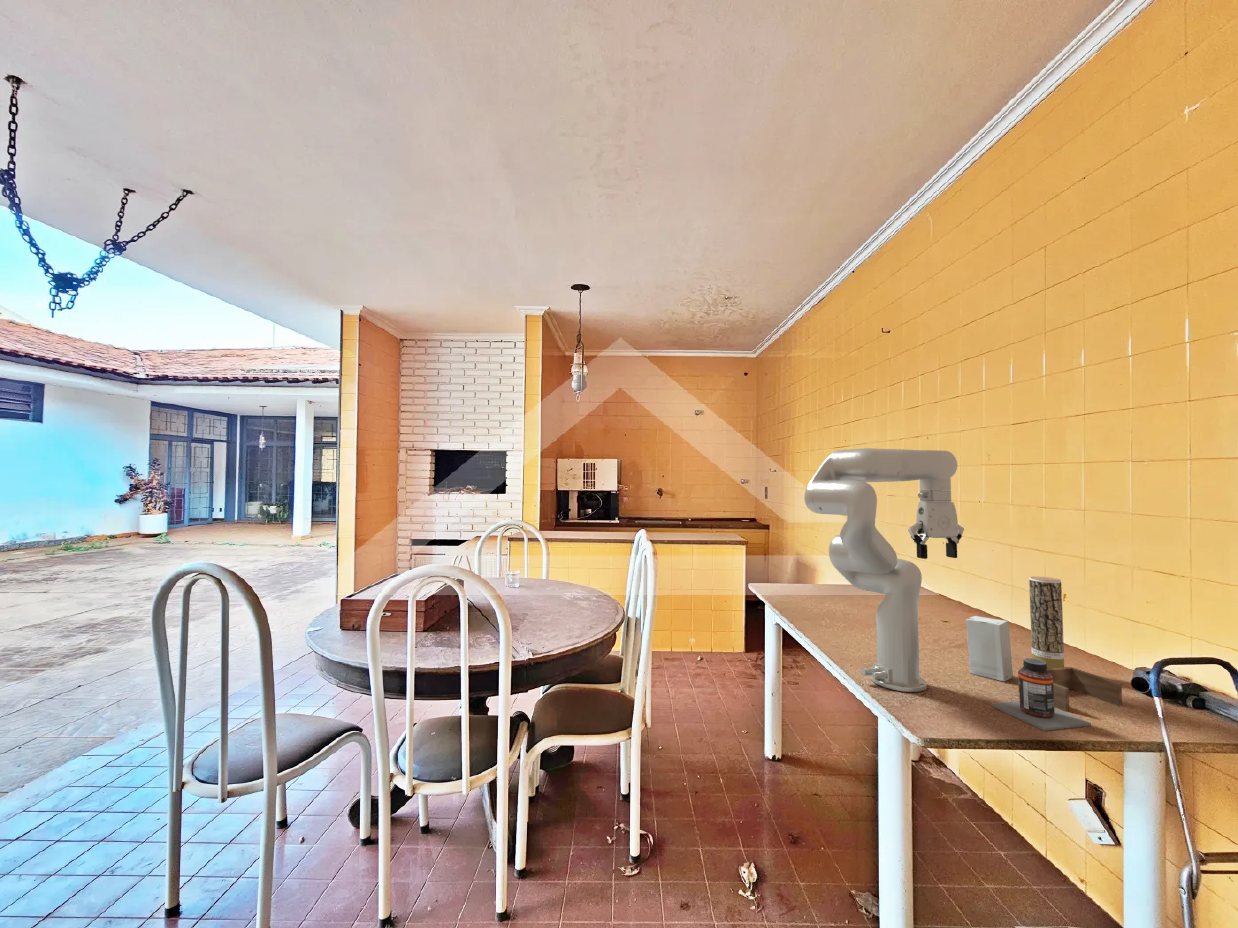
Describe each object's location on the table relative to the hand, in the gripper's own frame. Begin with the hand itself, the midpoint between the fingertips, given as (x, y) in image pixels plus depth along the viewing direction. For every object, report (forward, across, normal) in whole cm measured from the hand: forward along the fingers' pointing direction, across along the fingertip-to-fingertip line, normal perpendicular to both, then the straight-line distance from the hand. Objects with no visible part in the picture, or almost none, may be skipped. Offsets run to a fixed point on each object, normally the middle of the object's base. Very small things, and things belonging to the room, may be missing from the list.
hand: (937, 557), depth 143 cm
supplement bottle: (+30, -3, -30) cm, 42 cm away
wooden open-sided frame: (+30, +13, -24) cm, 41 cm away
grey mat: (+30, -3, -30) cm, 43 cm away
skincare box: (+31, +8, -8) cm, 33 cm away
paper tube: (+31, +27, -8) cm, 42 cm away
